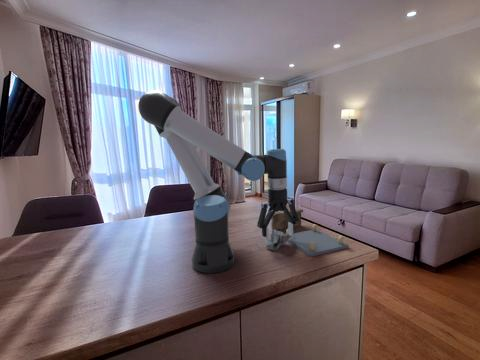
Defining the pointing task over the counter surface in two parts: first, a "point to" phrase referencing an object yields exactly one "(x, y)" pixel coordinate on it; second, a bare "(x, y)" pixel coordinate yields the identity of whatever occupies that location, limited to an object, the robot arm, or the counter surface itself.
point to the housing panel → (284, 220)
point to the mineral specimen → (277, 240)
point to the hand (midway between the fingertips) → (278, 240)
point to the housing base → (316, 242)
